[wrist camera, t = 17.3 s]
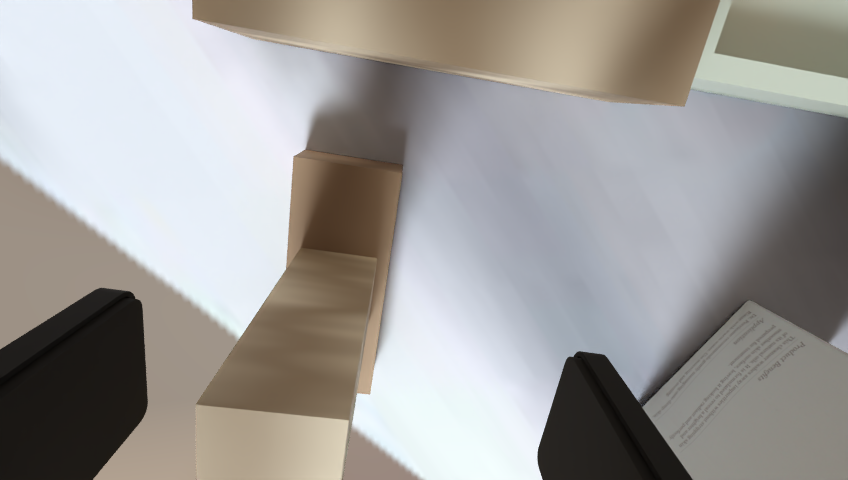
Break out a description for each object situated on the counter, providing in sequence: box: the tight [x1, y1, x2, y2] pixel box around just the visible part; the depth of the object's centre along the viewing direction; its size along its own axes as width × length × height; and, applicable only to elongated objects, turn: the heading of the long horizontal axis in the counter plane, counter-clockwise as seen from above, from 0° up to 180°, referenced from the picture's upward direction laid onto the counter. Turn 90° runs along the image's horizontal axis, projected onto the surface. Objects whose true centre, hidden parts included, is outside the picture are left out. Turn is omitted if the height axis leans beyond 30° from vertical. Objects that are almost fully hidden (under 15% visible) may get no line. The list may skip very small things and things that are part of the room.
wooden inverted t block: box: [196, 150, 403, 480], centre depth 14 cm, size 4×10×11 cm, turn 171°
